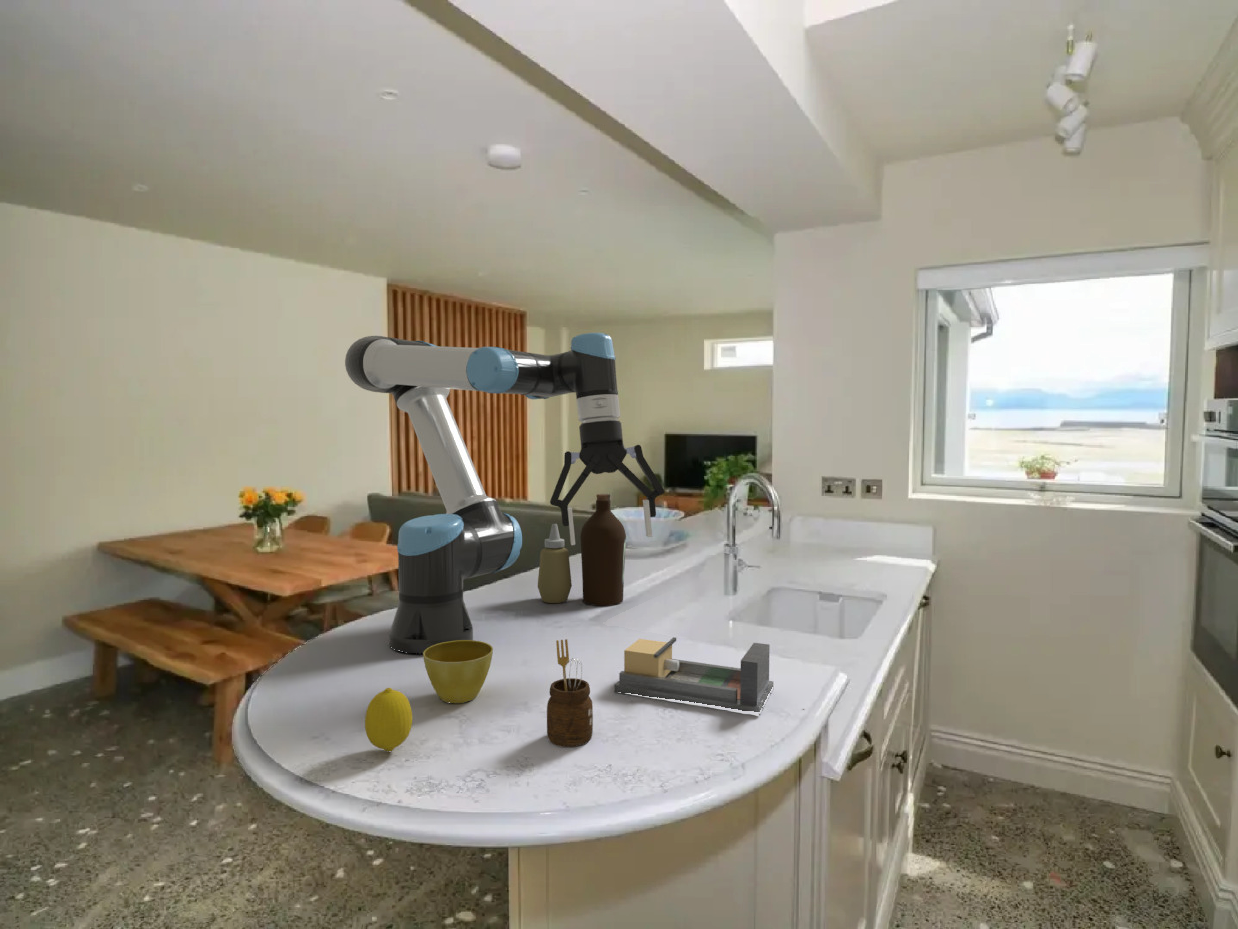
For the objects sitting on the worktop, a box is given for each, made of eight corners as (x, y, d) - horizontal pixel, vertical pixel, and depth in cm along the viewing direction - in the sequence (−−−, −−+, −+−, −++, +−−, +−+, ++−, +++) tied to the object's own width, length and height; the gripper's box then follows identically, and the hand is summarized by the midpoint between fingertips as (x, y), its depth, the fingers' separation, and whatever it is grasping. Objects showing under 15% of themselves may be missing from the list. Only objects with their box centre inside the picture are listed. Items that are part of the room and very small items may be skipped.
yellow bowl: (477, 714, 96) (477, 664, 95) (411, 708, 97) (410, 659, 97) (502, 687, 106) (502, 642, 105) (441, 683, 107) (441, 638, 107)
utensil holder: (555, 752, 84) (555, 656, 84) (540, 732, 90) (540, 642, 89) (599, 744, 87) (599, 650, 86) (582, 724, 92) (582, 637, 92)
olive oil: (588, 608, 153) (588, 497, 151) (574, 597, 162) (574, 493, 161) (632, 604, 156) (632, 495, 155) (616, 594, 166) (617, 491, 165)
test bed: (614, 692, 104) (614, 645, 103) (640, 669, 114) (640, 626, 113) (759, 716, 95) (759, 665, 95) (773, 689, 105) (774, 643, 105)
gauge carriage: (620, 681, 104) (620, 649, 104) (642, 662, 113) (642, 633, 112) (667, 689, 101) (668, 656, 101) (686, 669, 110) (686, 639, 109)
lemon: (372, 742, 87) (371, 680, 86) (416, 741, 87) (416, 679, 87) (359, 763, 81) (358, 697, 81) (407, 761, 82) (406, 696, 81)
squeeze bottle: (574, 597, 163) (574, 522, 162) (568, 605, 155) (568, 526, 154) (541, 596, 164) (541, 521, 163) (533, 604, 156) (533, 526, 155)
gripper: (528, 426, 116) (540, 549, 116) (672, 413, 119) (684, 534, 118) (530, 429, 124) (541, 545, 124) (665, 417, 126) (676, 531, 126)
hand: (611, 540), depth 121 cm, fingers open, 13 cm apart
